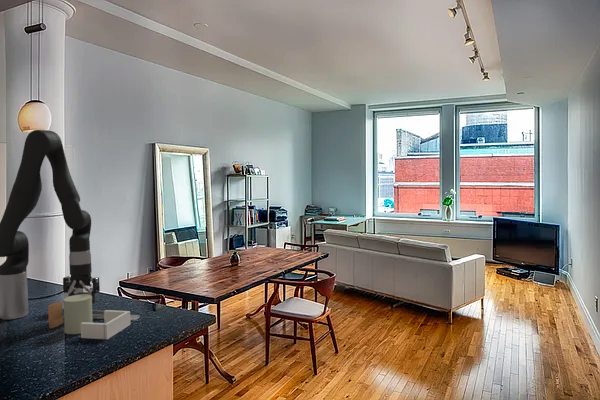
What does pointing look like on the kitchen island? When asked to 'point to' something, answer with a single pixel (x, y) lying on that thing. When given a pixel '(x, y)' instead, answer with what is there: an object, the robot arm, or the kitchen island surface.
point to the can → (77, 312)
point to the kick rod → (57, 313)
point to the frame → (106, 325)
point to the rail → (98, 316)
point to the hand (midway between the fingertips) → (82, 303)
